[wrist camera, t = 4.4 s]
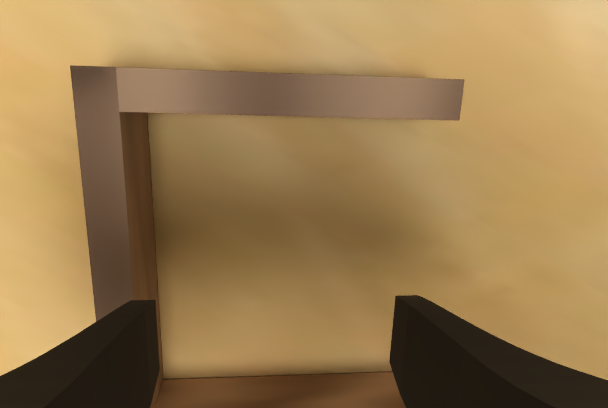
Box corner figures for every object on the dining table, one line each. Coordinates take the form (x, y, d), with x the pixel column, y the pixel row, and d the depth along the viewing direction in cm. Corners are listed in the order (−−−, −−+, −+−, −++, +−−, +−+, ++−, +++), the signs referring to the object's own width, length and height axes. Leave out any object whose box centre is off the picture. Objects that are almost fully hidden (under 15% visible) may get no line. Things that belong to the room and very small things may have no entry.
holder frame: (426, 81, 16) (464, 79, 13) (396, 395, 19) (419, 449, 16) (108, 70, 15) (70, 65, 12) (135, 405, 18) (111, 465, 15)
